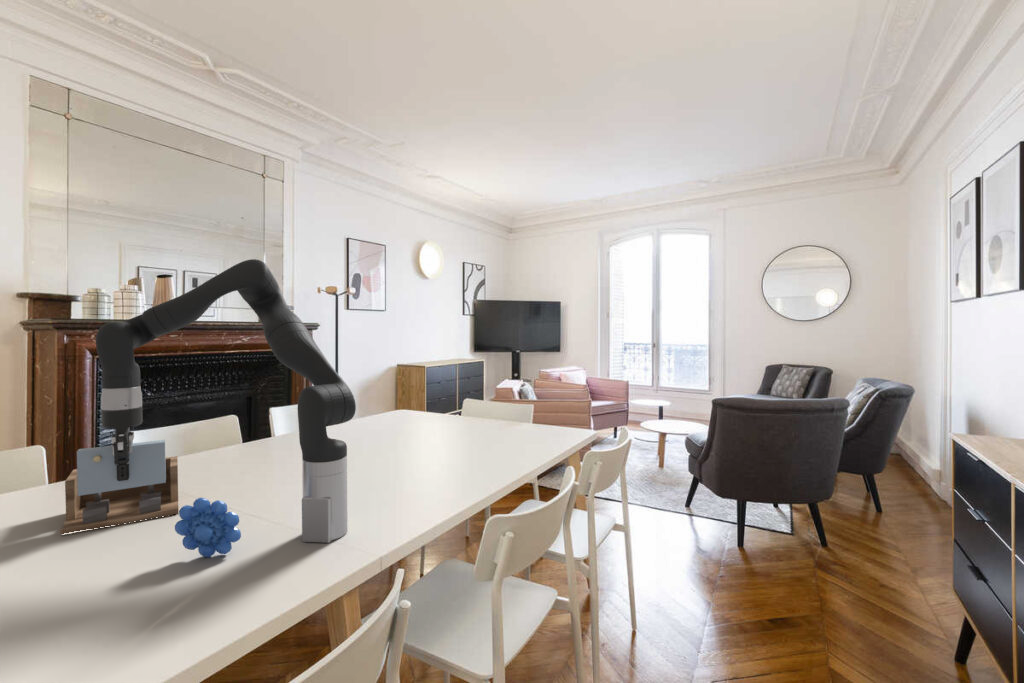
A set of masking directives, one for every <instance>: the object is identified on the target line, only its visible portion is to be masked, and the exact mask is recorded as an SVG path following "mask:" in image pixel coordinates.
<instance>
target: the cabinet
mask: <svg viewBox="0 0 1024 683" xmlns="http://www.w3.org/2000/svg"><path fill="white" fill-rule="evenodd" d="M165 462H166V483H160V484H153V485H147V486H140V487H134V488H127V489H120V490H114V491H107V492H101V493H94V494H88V495H81V496H78V482H77V468H75V469H74V468H73V470H72V471H71V473H69V475H68V477H66V479H65V481H64V486H65V489H64V491H65V492H64V494H65V497H64V498H65V522H64V523H63V525H62V527H61V529H60V535H61V534H64V533H69V532H74V531H80V530H86V529H94V528H100V527H105V526H111V525H118V524H124V523H129V522H134V521H140V520H145V519H151V518H156V517H162V516H167V517H169V516H168V515H173V514H178V515H179V472H178V469H179V468H178V466H179V465H178V463H179V462H178V456H169V457H165ZM173 516H174V515H173ZM162 518H163V517H162ZM151 520H152V519H151ZM140 522H141V521H140ZM124 525H125V524H124Z"/></svg>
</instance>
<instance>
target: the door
mask: <svg viewBox="0 0 1024 683" xmlns="http://www.w3.org/2000/svg"><path fill="white" fill-rule="evenodd" d="M128 450H129V447H128ZM122 458H126V457H125V456H119V459H122ZM165 458H166V439H160V440H150V441H142V442H133V444H132V453H130V454H129V460H130V462H129V479H128V480H124V481H117V466H116V465H115V463H114V461H115V459H114V455H113V445H103V446H98V447H89V448H79V449H77V451H76V469H77V482H78V496H81V495H88V494H94V493H101V492H107V491H114V490H120V489H127V488H134V487H140V486H147V485H153V484H160V483H166V462H165Z"/></svg>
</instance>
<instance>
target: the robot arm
mask: <svg viewBox="0 0 1024 683" xmlns="http://www.w3.org/2000/svg"><path fill="white" fill-rule="evenodd" d="M236 291H237V292H238V293H239V295H240V296H241V297H242V299H243V300H244V301H245V303H247V304H248V306H249V307H250V308H251V309H252V310H253V312H254V313H255V314H256V316H257V317H258V318H259V320H260V321H261V325H262V330H263V335H264V338H265V340H266V342H267V344H268V347H270V349H271V351H272V354H273V355H274V356H275V358H276V360H278V361H279V362H280V363H281V364H282V365H284V366H285V367H286V368H288V369H290V370H291V371H293V372H294V373H297V374H298V375H300V376H302V377H303V378H305V379H306V380H307V381H309V382H310V383H311V384H312V385H311V386H306V387H304V388H302V390H301V392H300V393H299V395H298V399H297V422H298V434H299V435H298V436H299V437H298V438H299V445H300V450H301V454H302V456H301V457H302V461H301V462H302V463H301V464H302V498H301V541H302V542H303V543H305V542H306V543H325V544H326V543H327V544H328V543H329V544H330V543H331V542H332V541H334V540H337V539H339V538H341V537H343V536H345V535H346V534H347V533H348V446H347V443H346V442H345V441H343V440H341V439H337V438H336V439H335V438H330V437H329V436H328V433H327V427H331V426H332V427H333V426H336V425H337V426H338V425H341V424H344V423H348V422H350V421H351V420H352V419H353V418H354V416H355V414H356V409H357V405H356V400H355V397H354V394H353V393H352V391H351V389H350V387H349V386H348V385H347V383H346V382H345V381H344V379H343V378H342V377H341V375H340V374H339V373H338V372H337V371H336V370H335V369H334V368H333V366H332V364H331V363H330V362H329V361H328V360H327V358H326V356H325V355H324V353H323V352H322V351H321V349H320V348H319V347H318V344H317V343H316V342H315V340H314V338H313V336H312V335H311V332H310V331H309V330H308V328H307V327H306V325H305V324H304V322H303V321H302V320H301V319H300V318H299V317H298V315H297V314H296V313H294V311H292V310H291V309H290V307H289V306H288V304H287V301H285V298H284V296H283V293H282V291H281V288H280V286H279V283H278V281H277V279H276V278H275V276H274V275H273V273H272V271H271V269H269V266H268V265H267V264H266V263H265V262H264V261H263V260H260V259H255V258H253V259H251V258H250V259H247V260H242V261H241V262H238V263H236V264H234V265H233V266H231V267H229V268H228V269H227V268H226V270H224V271H222V272H220V273H218V274H216V275H215V276H213V277H211V278H210V279H208V280H206V281H205V282H203V283H202V284H199V285H198V286H197V287H195V288H193V289H191V290H189V291H186V292H185V293H183V294H181V295H179V296H176V297H174V298H172V299H170V300H167V301H164V302H161V303H159V304H156V305H154V306H151V307H150V308H148V309H146V310H144V311H143V312H142V314H138V315H137V316H134V317H132V318H129V319H126V320H123V321H111V322H106V323H105V324H102V326H100V327H99V329H98V330H97V332H96V336H95V347H96V353H97V356H98V361H99V364H100V366H101V371H102V372H101V386H102V388H101V397H100V405H101V407H100V408H101V409H100V410H101V414H100V415H101V427H102V429H105V430H106V429H108V430H109V429H110V430H111V429H114V430H115V432H114V433H113V434H112V435H111V444H112V446H113V455H114V459H115V461H114V463H115V465H116V466H117V481H124V480H128V479H129V462H130V460H129V454H130V453H132V444H133V443H134V438H135V432H134V431H131V428H130V427H134V428H135V427H137V426H141V425H142V424H143V422H144V419H143V393H142V389H141V388H142V387H141V385H142V384H141V369H140V365H139V364H138V363H137V362H136V361H135V352H134V350H135V349H138V348H140V347H142V346H144V345H146V344H148V343H150V342H152V341H154V340H156V339H157V338H159V337H162V336H164V335H165V336H166V335H167V334H170V333H172V332H175V331H177V330H180V329H182V328H184V327H187V326H189V325H191V324H193V323H194V322H196V321H197V320H198V319H200V318H201V317H202V315H204V314H205V312H206V311H207V310H208V309H209V308H210V307H211V306H212V305H213V304H214V303H215V302H216V301H217V300H219V299H220V298H221V297H224V296H225V295H227V294H230V293H232V292H236ZM128 447H129V450H128ZM119 456H125V457H126V458H122V459H119Z"/></svg>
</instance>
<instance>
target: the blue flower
mask: <svg viewBox="0 0 1024 683" xmlns="http://www.w3.org/2000/svg"><path fill="white" fill-rule="evenodd" d="M178 515H179V518H180V520H179V521H177V522H176V523H175V525H174V531H175V532H176V534H178V535H179V536H184V537H183V538H182V546H183V547H184V549H187V550H189V551H193V550H196V549H197V550H198V553H199V555H201V557H204V558H210V557H211V556H214V555H215V553H216V552H217V553H219V554H220V555H226V554H228V553H229V552H231V550H232V546H233V544H232V543H236V542H237V541H238V542H239V540H240V539H241V537H242V532H241V530H240V529H239V528H238V527H236V526H238V525H239V523H240V517H239V515H238V514H237V513H235V512H233V511H228V505H227V503H226V502H225V501H224V500H215V501H213V502H212V503H211V502H210V500H209V499H207V498H205V497H198V498H195V500H194V502H193V503H192V505H189V504H186V505H183V506H182V507H181V508H180V509H178Z"/></svg>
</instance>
